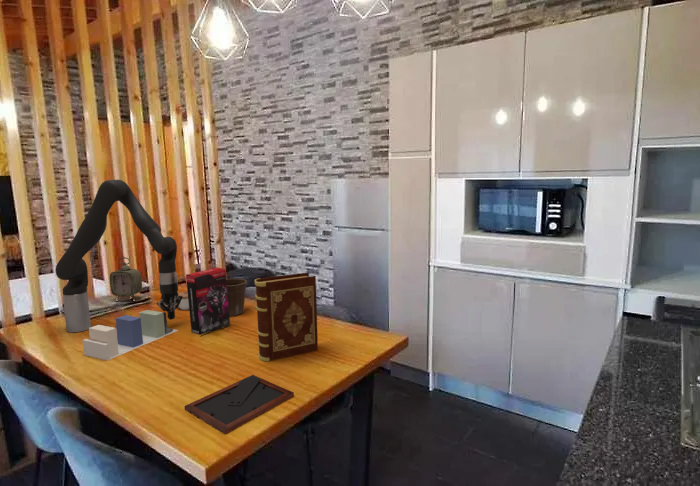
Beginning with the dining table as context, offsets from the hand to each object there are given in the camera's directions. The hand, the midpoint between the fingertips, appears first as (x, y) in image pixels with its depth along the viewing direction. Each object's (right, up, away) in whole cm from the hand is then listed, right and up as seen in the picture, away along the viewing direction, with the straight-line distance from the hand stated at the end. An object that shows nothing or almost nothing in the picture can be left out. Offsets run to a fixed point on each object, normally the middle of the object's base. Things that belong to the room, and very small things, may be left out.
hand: (171, 319), depth 191 cm
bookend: (-2, -4, -5) cm, 7 cm away
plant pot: (+21, -1, +24) cm, 32 cm away
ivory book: (-13, -8, -29) cm, 33 cm away
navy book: (-9, -7, -19) cm, 22 cm away
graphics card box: (+18, -5, -1) cm, 19 cm away
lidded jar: (-6, 0, +33) cm, 33 cm away
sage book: (-4, -5, -9) cm, 11 cm away
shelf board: (-8, -8, -16) cm, 20 cm away
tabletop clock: (-45, +2, +50) cm, 67 cm away
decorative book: (+57, -8, -27) cm, 63 cm away
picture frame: (+48, -15, -63) cm, 81 cm away
